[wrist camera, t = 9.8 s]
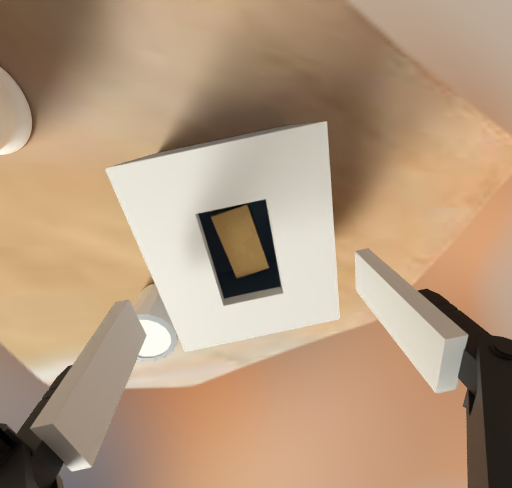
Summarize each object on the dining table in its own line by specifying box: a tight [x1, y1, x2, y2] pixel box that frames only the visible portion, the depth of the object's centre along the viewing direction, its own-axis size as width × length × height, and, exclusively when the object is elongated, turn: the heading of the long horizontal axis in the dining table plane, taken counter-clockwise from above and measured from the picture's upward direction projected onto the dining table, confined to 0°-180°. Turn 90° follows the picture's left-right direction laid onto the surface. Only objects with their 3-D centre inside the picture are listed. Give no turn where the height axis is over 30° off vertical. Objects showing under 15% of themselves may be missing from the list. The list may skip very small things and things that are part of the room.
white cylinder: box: [131, 283, 178, 361], centre depth 31 cm, size 7×7×7 cm
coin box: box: [105, 121, 340, 352], centre depth 24 cm, size 16×14×12 cm
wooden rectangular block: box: [211, 203, 269, 278], centre depth 25 cm, size 6×3×9 cm, turn 18°
